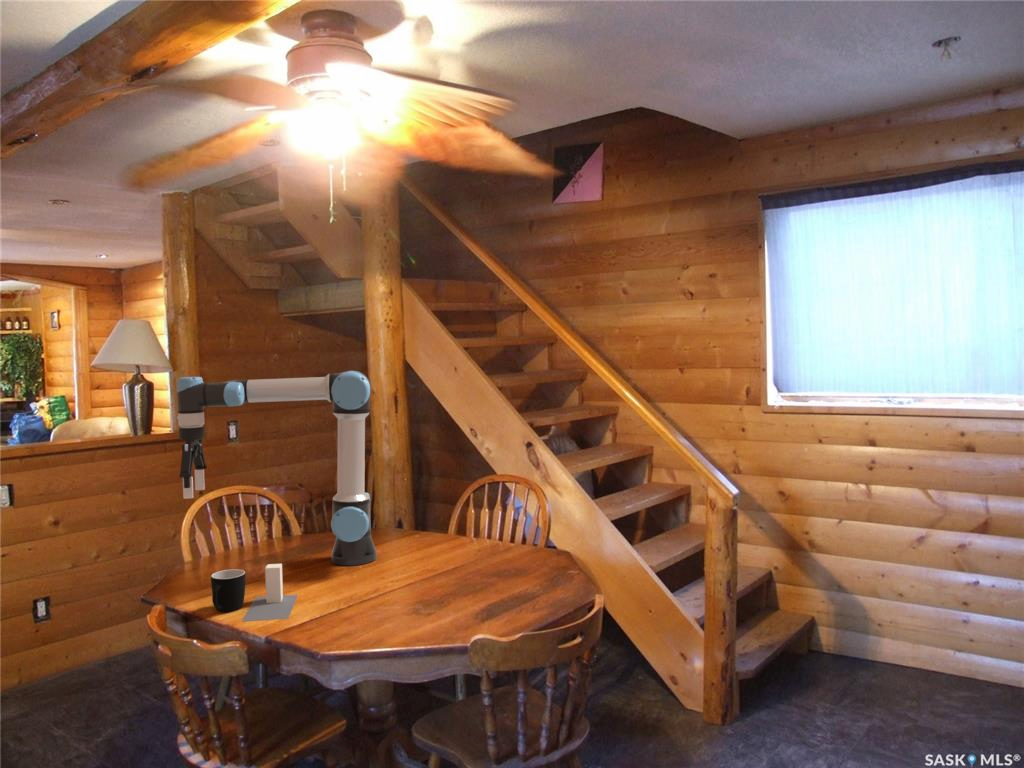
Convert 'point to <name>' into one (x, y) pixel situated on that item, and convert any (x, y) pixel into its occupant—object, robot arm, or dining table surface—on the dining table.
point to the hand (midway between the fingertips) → (194, 494)
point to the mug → (228, 590)
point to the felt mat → (270, 609)
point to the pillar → (274, 583)
